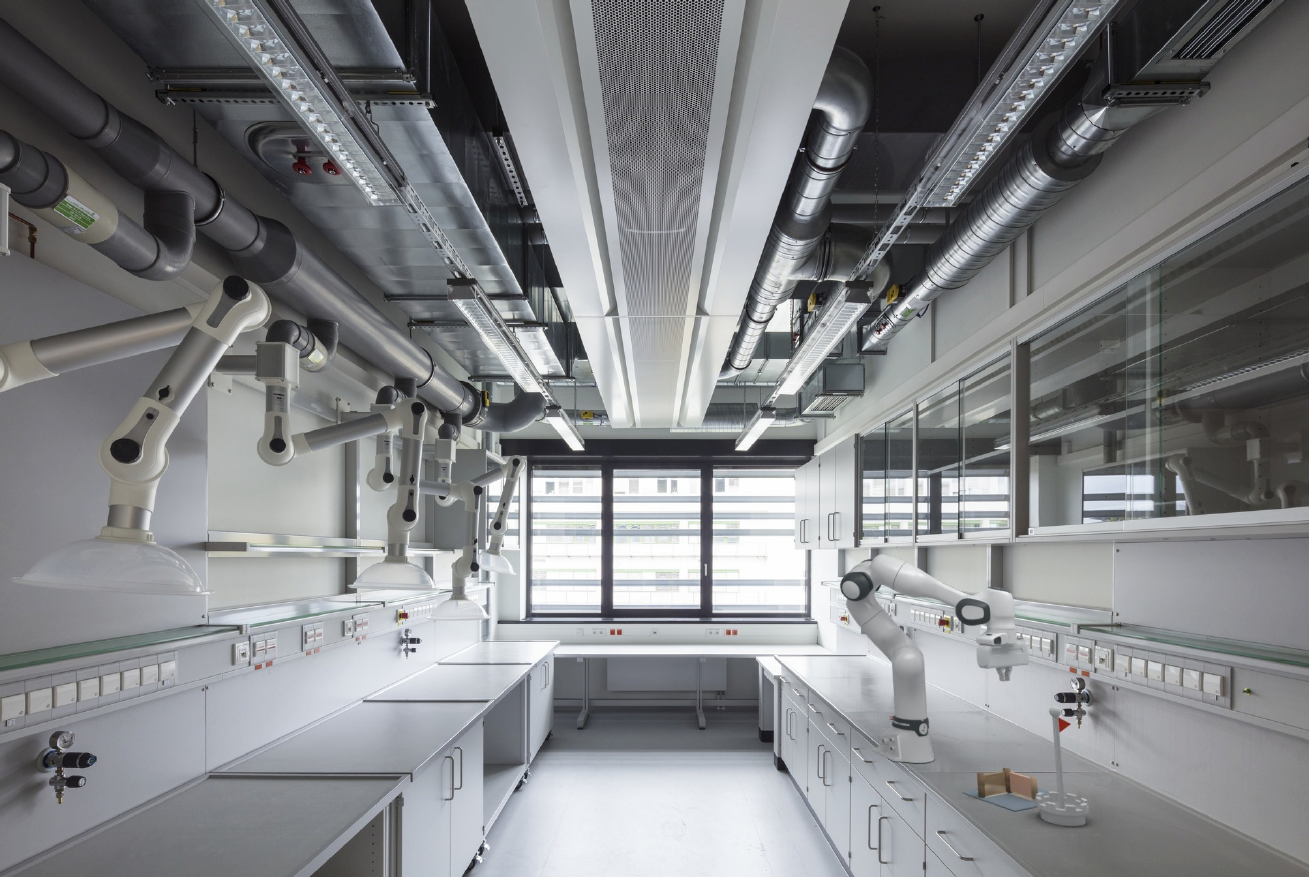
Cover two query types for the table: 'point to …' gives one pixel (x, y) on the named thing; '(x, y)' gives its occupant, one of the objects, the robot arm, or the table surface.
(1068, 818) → the flag stand
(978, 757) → the table surface
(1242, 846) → the table surface
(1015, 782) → the fence section
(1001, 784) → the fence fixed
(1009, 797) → the board
